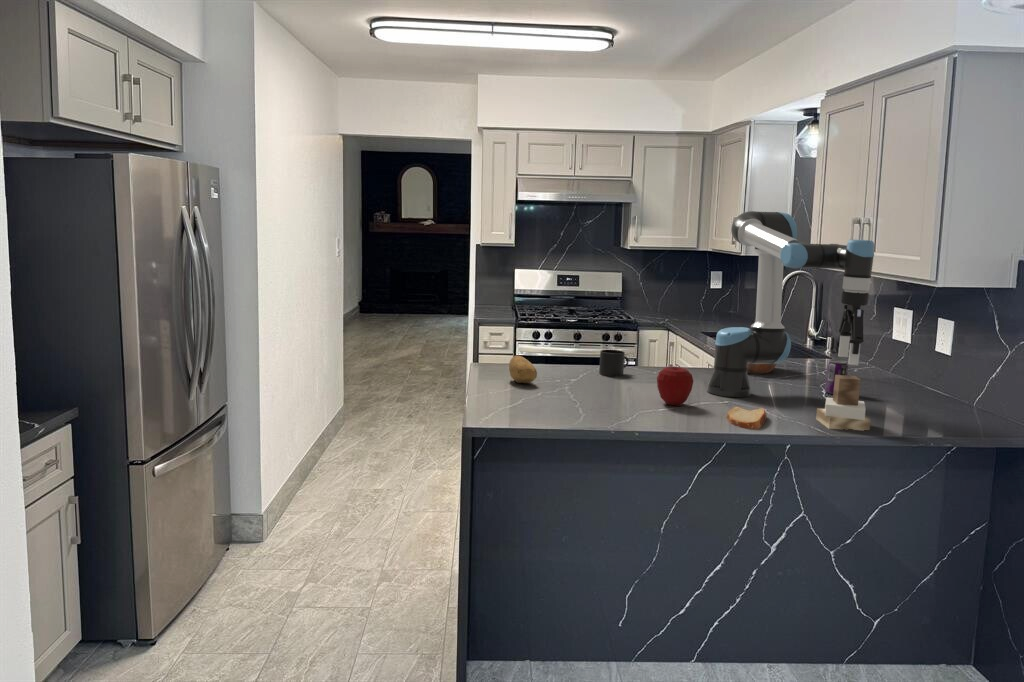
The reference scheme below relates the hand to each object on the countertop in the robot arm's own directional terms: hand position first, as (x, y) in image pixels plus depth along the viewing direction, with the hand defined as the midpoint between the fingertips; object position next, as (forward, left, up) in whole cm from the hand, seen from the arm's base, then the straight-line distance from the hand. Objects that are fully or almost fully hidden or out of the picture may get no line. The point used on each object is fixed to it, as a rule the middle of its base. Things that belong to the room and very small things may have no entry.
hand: (847, 360), depth 244 cm
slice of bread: (-28, -5, -21) cm, 35 cm away
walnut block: (0, -1, -13) cm, 13 cm away
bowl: (-18, +87, -20) cm, 91 cm away
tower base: (0, -1, -21) cm, 21 cm away
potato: (-105, +27, -20) cm, 110 cm away
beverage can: (+8, +49, -20) cm, 53 cm away
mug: (-73, +57, -20) cm, 94 cm away
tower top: (0, -1, -17) cm, 17 cm away
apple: (-51, +10, -20) cm, 56 cm away
